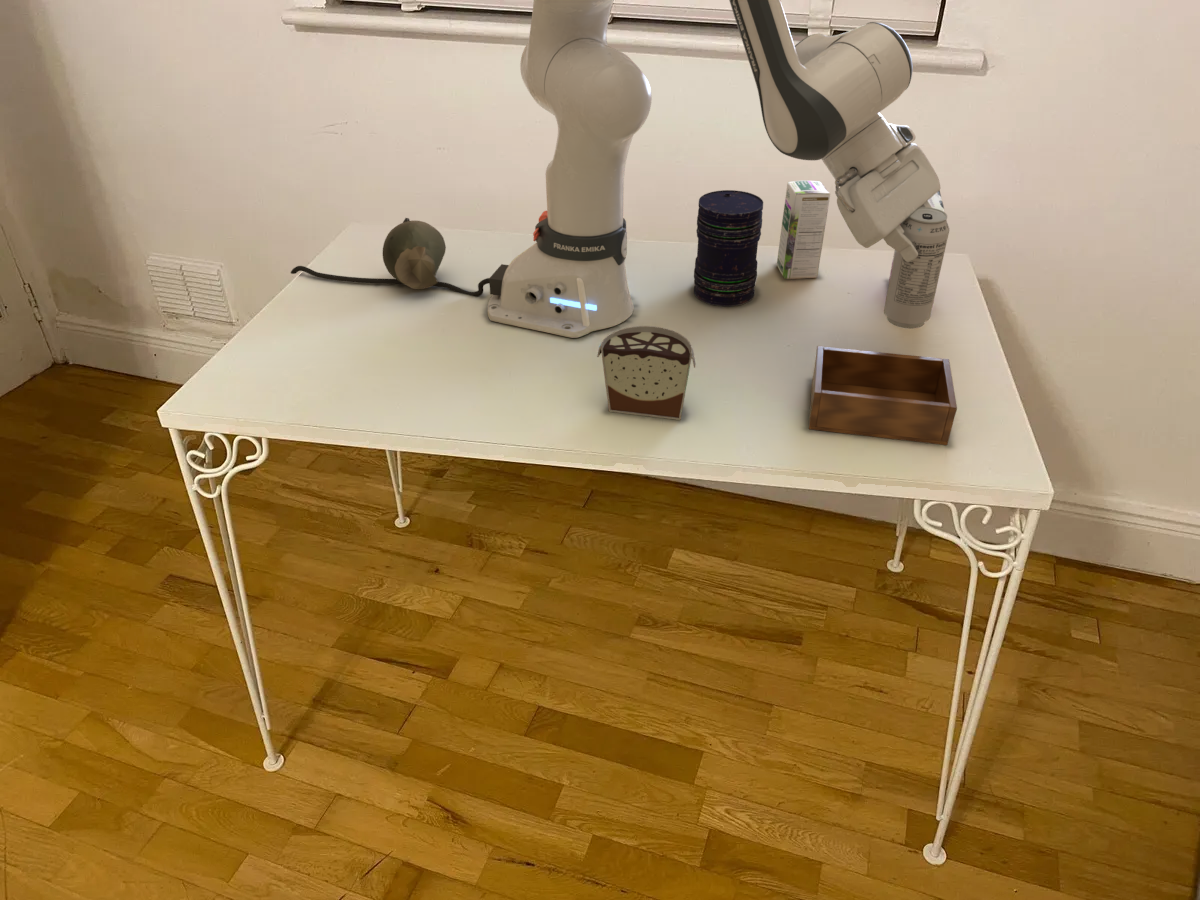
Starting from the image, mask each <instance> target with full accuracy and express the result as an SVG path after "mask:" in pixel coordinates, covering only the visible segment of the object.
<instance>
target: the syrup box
mask: <svg viewBox="0 0 1200 900" xmlns="http://www.w3.org/2000/svg"><path fill="white" fill-rule="evenodd" d="M830 199H831V192H830V191H829V190H828V189H827V187H826V186H825V185H824V184H823V183H822V181H819V180H809V179H808V180H793V181H788V182H787V183H786V190H785V197H784V204H783V213H782V219H781V228H780V233H779V234H780V235H779V242H778V251H777V260H776V267H777V268H778V271H779V272H780V274H781V276H782V277H783V279H784V280H798V279H799V280H801V279H815V278H816V279H817V278H818V275H819V269H820V263H821V258H822V257H821V256H822V251H823V245H824V244H823V243H824V237H825V231H826V226H827V219H828V211H829V205H830Z"/></svg>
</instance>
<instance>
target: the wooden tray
mask: <svg viewBox="0 0 1200 900" xmlns="http://www.w3.org/2000/svg"><path fill="white" fill-rule="evenodd" d="M812 373H813V374H812V380H811V391H810V393H811V394H810V406H809V407H810V408H809V420H808V430H812V431H822V432H831V433H839V434H847V435H848V434H849V435H854V436H865V437H872V438H881V439H889V440H900V441H907V442H915V443H925V444H932V445H942V446H948V443H949V440H950V435H951V432H952V429H953V424H954V421H955V417H956V413H957V409H958V405H957V400H956V393H955V387H954V381H953V374H952V368H951V363H950V359H949V358H943V357H942V358H941V357H933V356H932V357H931V356H921V355H912V354H903V353H902V354H901V353H890V352H881V351H880V352H879V351H873V350H863V349H861V350H859V349H850V348H841V347H832V346H831V347H830V346H819V345H817V346H816V353H815V360H814V367H813V372H812Z"/></svg>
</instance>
